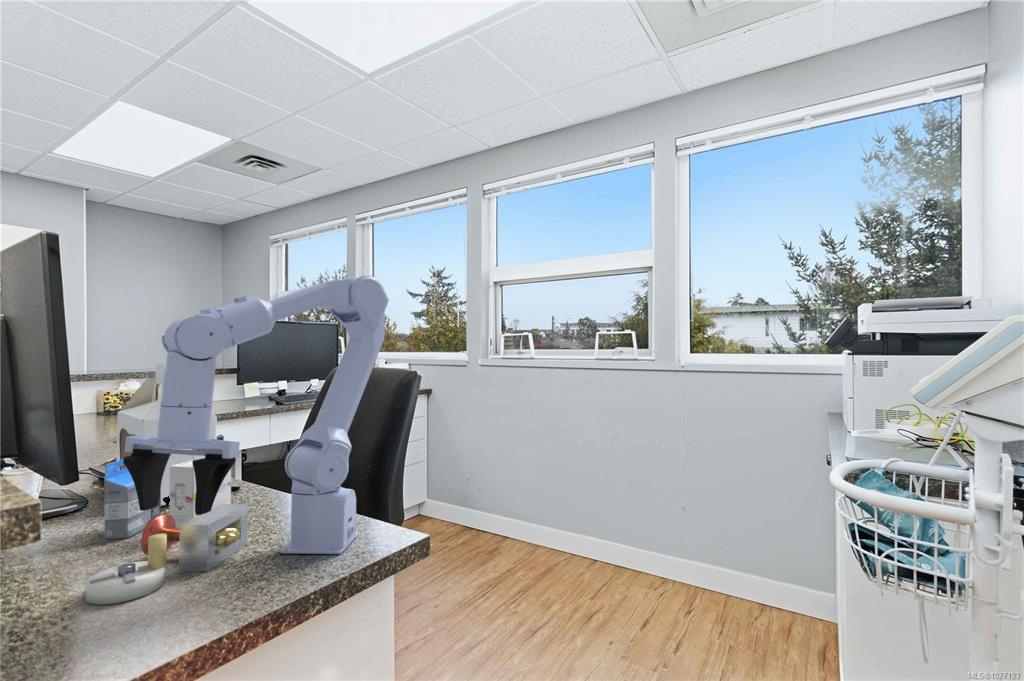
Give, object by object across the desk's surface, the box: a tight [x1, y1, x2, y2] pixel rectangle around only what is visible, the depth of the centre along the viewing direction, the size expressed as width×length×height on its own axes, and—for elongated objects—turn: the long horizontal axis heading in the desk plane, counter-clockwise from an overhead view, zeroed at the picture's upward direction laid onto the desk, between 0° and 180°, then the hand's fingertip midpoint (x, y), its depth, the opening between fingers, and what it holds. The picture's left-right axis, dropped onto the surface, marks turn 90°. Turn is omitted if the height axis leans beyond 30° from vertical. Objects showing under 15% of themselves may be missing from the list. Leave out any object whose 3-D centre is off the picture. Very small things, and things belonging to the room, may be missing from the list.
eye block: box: [178, 503, 249, 573], centre depth 74 cm, size 4×10×6 cm, turn 179°
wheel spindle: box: [118, 562, 136, 576], centre depth 63 cm, size 2×2×1 cm
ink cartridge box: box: [168, 450, 232, 528], centre depth 86 cm, size 9×5×15 cm, turn 168°
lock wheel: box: [84, 533, 168, 606], centre depth 64 cm, size 8×8×6 cm
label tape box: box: [103, 459, 162, 540], centre depth 85 cm, size 9×4×12 cm, turn 5°
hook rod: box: [140, 513, 240, 556], centre depth 74 cm, size 13×6×6 cm, turn 89°
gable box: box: [115, 364, 218, 507], centre depth 109 cm, size 22×13×28 cm, turn 49°
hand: (175, 510), depth 65 cm, fingers open, 7 cm apart
